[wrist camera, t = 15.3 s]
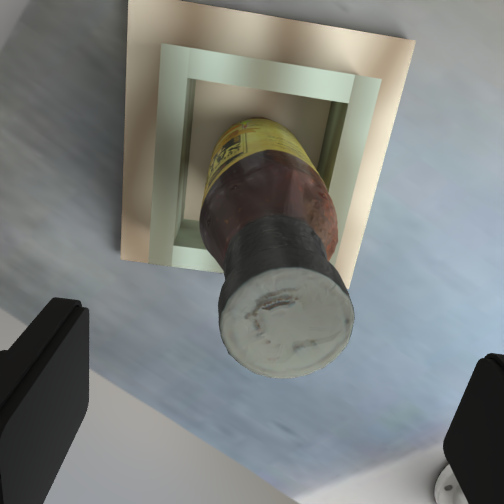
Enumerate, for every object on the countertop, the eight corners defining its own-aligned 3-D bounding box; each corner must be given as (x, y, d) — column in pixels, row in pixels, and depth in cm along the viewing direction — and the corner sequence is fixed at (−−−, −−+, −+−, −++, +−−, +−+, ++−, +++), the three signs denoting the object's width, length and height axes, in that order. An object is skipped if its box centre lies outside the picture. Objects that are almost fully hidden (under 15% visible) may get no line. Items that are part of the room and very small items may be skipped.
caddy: (409, 41, 29) (449, 37, 23) (345, 281, 36) (364, 323, 30) (133, -6, 27) (103, -22, 22) (124, 253, 35) (100, 291, 29)
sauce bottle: (220, 105, 29) (199, 182, 11) (310, 125, 30) (433, 227, 12) (204, 199, 32) (164, 388, 13) (288, 215, 32) (359, 415, 14)
